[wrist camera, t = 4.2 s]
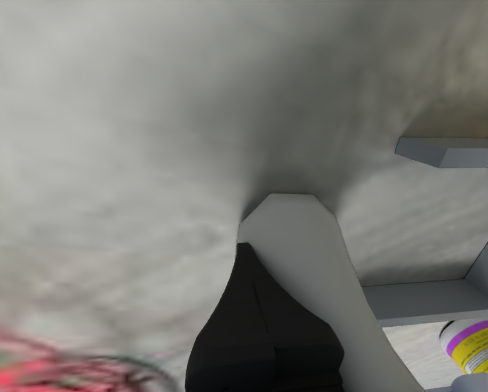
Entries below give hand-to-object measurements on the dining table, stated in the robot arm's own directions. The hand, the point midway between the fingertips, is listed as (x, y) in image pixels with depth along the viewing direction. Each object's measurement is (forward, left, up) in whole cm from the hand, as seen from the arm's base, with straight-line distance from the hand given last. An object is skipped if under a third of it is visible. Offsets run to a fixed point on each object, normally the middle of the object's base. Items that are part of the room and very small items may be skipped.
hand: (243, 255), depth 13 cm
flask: (0, -3, -2) cm, 4 cm away
